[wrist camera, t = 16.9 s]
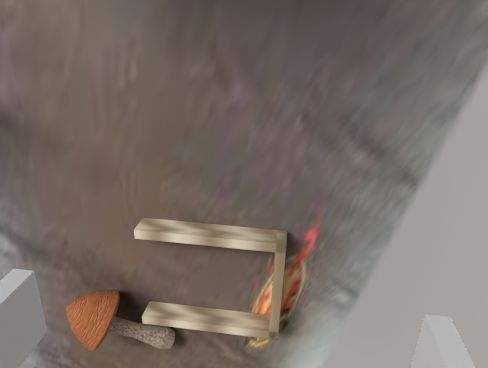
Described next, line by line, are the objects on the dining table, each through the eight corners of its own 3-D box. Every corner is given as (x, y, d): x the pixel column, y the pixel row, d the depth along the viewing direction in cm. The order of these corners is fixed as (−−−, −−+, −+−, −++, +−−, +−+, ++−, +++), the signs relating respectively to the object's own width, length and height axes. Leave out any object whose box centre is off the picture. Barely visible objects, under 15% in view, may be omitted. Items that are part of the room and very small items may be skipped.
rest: (150, 307, 56) (142, 323, 53) (143, 217, 50) (134, 229, 47) (278, 323, 54) (277, 339, 51) (287, 231, 48) (286, 244, 45)
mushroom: (165, 383, 51) (48, 345, 46) (153, 363, 58) (52, 329, 54) (190, 322, 53) (81, 280, 48) (176, 310, 60) (81, 273, 56)
